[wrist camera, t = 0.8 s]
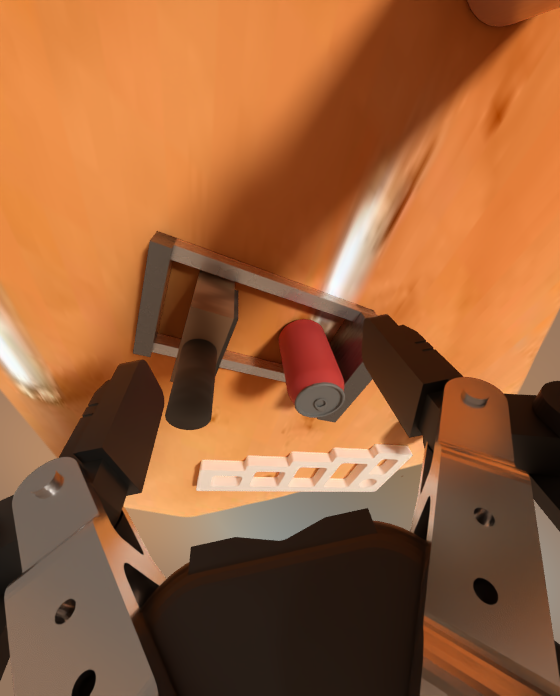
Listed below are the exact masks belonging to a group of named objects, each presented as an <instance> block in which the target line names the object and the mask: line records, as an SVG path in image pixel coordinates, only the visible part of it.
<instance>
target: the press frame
mask: <svg viewBox="0 0 560 696" xmlns="http://www.w3.org/2000/svg"><path fill="white" fill-rule="evenodd" d="M173 261H176V262H179V263H182V264H185V265H188V266H191V267H194V268H197V269H200V270H203V271H206V272H209V273H212V274H215V275H218V276H221V277H223V278H226V279H229V280H232V281H235V282H238V283H241V284H244V285H247V286H250V287H253V288H256V289H259V290H262V291H265V292H268V293H271V294H274V295H277V296H280V297H282V298H285V299H288V300H291V301H294V302H297V303H300V304H303V305H306V306H309V307H312V308H315V309H318V310H321V311H324V312H327V313H330V314H333V315H336V316H339V317H341V318H344V319H345V321H344V322H343V324H342V325H341V327H340V328H339V330H338V331H337V333H336V334H335V336H334V337H333V339H332V340H331V342H330V343H329V345H330V347H331V350H332V352H333V355H334V357H335V359H336V362H337V364H338V367H339V369H340V372H341V374H342V376H343V379H344V394H345V400H344V402H343V404H342V406H341V407H340V408H339V409H338V410H337V411H335V412H333V413H332V414H329V415H327V416H324V417H318V418H317V419H320V420H325V421H330V422H336V421H337V420H338V419H339V417H340V416H341V415H342V414H343V413H344V412H345V410H346V409H347V408H348V407H349V406H350V405H351V403H352V402H353V401H354V400H355V399H356V398H357V396H358V395H359V394H360V393H361V392H362V391H363V390H364V388H365V387H366V386H367V385H368V384H369V383H370V381H371V380H372V377H371V375H370V374H369V372H368V371H367V369H366V367H365V365H364V363H363V359H362V340H363V324H364V320H365V319H366V318H369V317H374V316H377V314H376V313H375V312H374V310H371V309H368V308H365V307H363V306H360V305H357V304H354V303H352V302H349V301H346V300H344V299H341V298H338V297H335V296H333V295H330V294H327V293H324V292H322V291H319V290H316V289H314V288H311V287H308V286H305V285H303V284H300V283H297V282H294V281H292V280H289V279H286V278H284V277H281V276H278V275H275V274H273V273H270V272H267V271H265V270H262V269H259V268H256V267H254V266H251V265H248V264H245V263H243V262H240V261H237V260H235V259H232V258H229V257H226V256H224V255H221V254H218V253H215V252H213V251H210V250H207V249H205V248H202V247H199V246H196V245H194V244H191V243H188V242H185V241H183V240H180V239H177V238H175V237H172V236H169V235H166V234H164V233H161V232H158V231H157V232H156V233H155V235H154V236H153V237H152V239H151V240H150V244H149V250H148V257H147V264H146V270H145V277H144V283H143V290H142V297H141V303H140V310H139V316H138V323H137V330H136V336H135V343H134V350H133V354H138V355H143V356H147V357H151V354H152V352H154V353H158V354H163V355H167V356H172V357H176V358H177V354H178V350H179V346H180V342H181V339H178V338H174V337H170V336H166V335H162V334H158V330H159V325H160V320H161V315H162V310H163V305H164V301H165V296H166V291H167V286H168V281H169V276H170V272H171V267H172V262H173ZM219 367H221V368H225V369H229V370H234V371H238V372H243V373H247V374H252V375H256V376H260V377H265V378H269V379H274V380H278V381H283V382H286V380H285V374H284V369H283V364H279V363H275V362H271V361H267V360H263V359H259V358H255V357H251V356H247V355H243V354H239V353H235V352H231V351H227V350H226V351H225V353H224V356H223V358H222V361H221V363H220V366H219Z"/></svg>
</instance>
